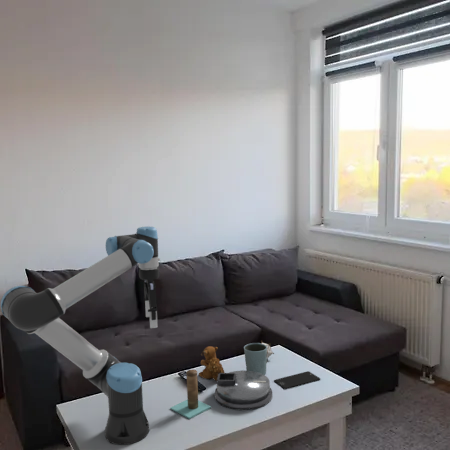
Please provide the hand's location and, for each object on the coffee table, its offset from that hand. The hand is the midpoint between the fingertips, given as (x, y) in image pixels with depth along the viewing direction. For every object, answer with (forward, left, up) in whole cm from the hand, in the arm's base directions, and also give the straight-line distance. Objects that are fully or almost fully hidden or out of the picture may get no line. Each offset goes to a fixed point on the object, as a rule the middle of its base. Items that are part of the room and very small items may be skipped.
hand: (151, 322), depth 192 cm
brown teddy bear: (+31, -1, -33) cm, 45 cm away
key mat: (+6, -14, -33) cm, 36 cm away
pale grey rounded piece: (+60, -5, -33) cm, 69 cm away
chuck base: (+27, -22, -33) cm, 48 cm away
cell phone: (+52, -30, -33) cm, 69 cm away
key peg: (+7, -15, -32) cm, 36 cm away
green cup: (+46, -12, -33) cm, 58 cm away
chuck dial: (+27, -22, -31) cm, 47 cm away
